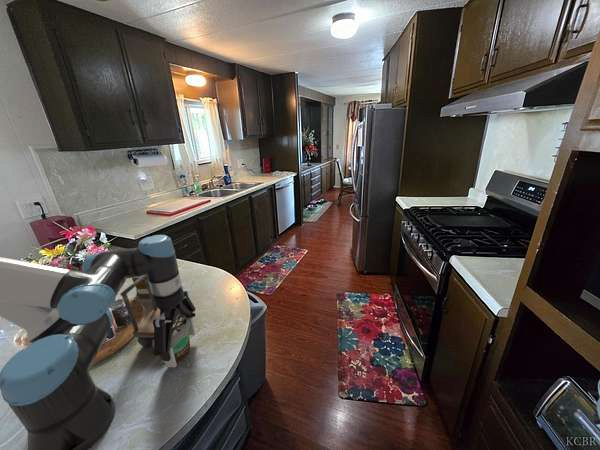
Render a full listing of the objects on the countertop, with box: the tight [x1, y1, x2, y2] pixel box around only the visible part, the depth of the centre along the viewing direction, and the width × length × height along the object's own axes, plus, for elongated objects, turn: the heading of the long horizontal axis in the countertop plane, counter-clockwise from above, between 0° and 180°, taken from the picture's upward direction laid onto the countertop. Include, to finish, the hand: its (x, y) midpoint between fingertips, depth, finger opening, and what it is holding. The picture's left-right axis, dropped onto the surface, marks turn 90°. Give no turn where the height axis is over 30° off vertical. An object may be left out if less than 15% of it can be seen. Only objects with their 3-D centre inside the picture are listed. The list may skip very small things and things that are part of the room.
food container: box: [152, 313, 191, 365], centre depth 73 cm, size 12×6×10 cm, turn 169°
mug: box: [131, 275, 151, 300], centre depth 110 cm, size 20×14×15 cm
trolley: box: [119, 275, 179, 348], centre depth 81 cm, size 12×10×22 cm
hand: (182, 349), depth 75 cm, fingers closed on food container, 11 cm apart
